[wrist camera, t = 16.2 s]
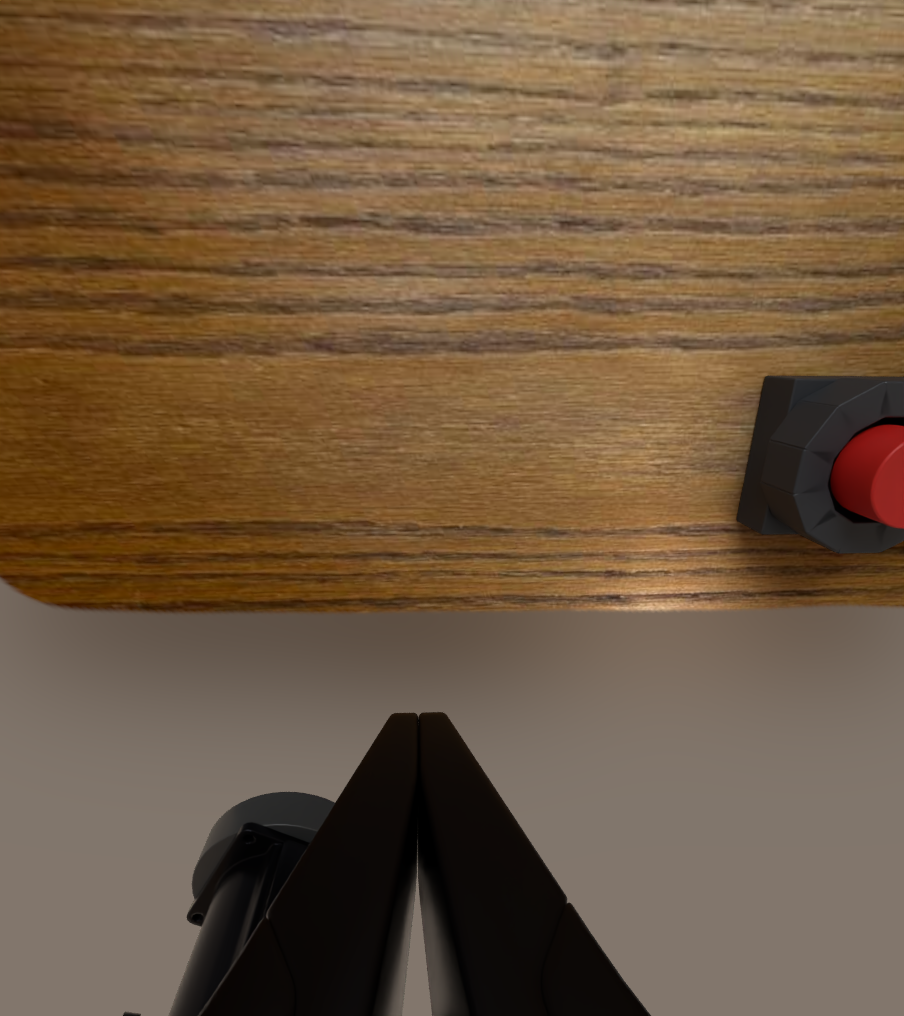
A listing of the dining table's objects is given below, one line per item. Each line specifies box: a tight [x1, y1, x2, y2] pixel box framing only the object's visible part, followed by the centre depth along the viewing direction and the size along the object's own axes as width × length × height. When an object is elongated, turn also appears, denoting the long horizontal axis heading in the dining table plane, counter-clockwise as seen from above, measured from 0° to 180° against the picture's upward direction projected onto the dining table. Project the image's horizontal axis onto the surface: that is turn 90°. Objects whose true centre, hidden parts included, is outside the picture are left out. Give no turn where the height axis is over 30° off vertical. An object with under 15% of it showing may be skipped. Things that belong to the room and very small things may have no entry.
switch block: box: [737, 376, 904, 553], centre depth 19 cm, size 10×6×4 cm, turn 89°
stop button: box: [830, 424, 904, 529], centre depth 17 cm, size 3×3×2 cm
